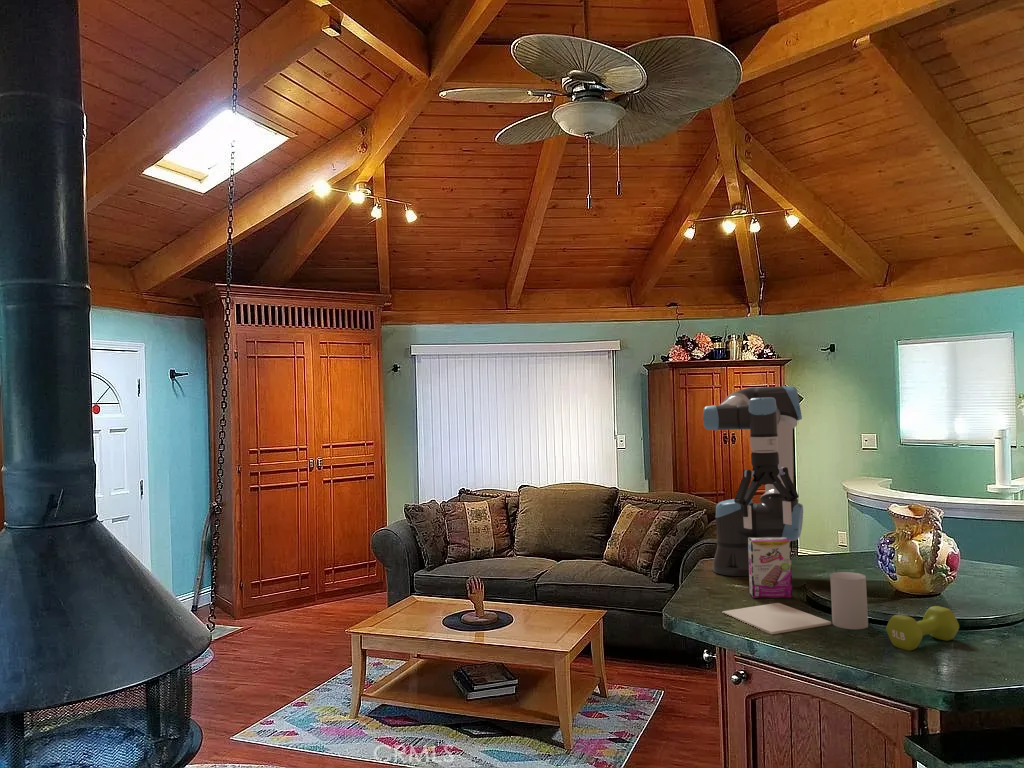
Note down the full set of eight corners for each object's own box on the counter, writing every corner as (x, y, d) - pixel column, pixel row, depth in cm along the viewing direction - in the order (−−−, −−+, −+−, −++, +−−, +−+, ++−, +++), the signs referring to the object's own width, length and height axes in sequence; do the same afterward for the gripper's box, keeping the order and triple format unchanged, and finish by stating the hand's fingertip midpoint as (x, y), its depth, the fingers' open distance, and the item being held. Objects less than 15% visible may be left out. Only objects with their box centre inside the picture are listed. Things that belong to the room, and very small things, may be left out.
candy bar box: (753, 599, 217) (750, 540, 217) (749, 594, 222) (746, 537, 222) (793, 598, 216) (791, 539, 216) (789, 593, 221) (786, 536, 221)
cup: (873, 623, 191) (870, 574, 191) (861, 631, 185) (859, 581, 185) (839, 617, 197) (837, 570, 197) (827, 625, 191) (825, 576, 191)
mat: (778, 604, 210) (778, 602, 210) (831, 624, 191) (831, 621, 191) (722, 613, 204) (722, 611, 204) (771, 634, 185) (771, 632, 185)
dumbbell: (914, 655, 168) (912, 621, 168) (883, 645, 175) (881, 613, 175) (963, 642, 175) (962, 610, 175) (931, 632, 182) (930, 602, 182)
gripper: (735, 454, 212) (739, 532, 212) (809, 449, 220) (812, 524, 220) (719, 453, 219) (722, 528, 219) (791, 448, 227) (794, 520, 227)
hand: (768, 526), depth 219 cm, fingers open, 13 cm apart
